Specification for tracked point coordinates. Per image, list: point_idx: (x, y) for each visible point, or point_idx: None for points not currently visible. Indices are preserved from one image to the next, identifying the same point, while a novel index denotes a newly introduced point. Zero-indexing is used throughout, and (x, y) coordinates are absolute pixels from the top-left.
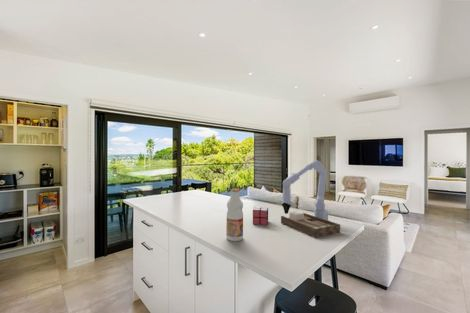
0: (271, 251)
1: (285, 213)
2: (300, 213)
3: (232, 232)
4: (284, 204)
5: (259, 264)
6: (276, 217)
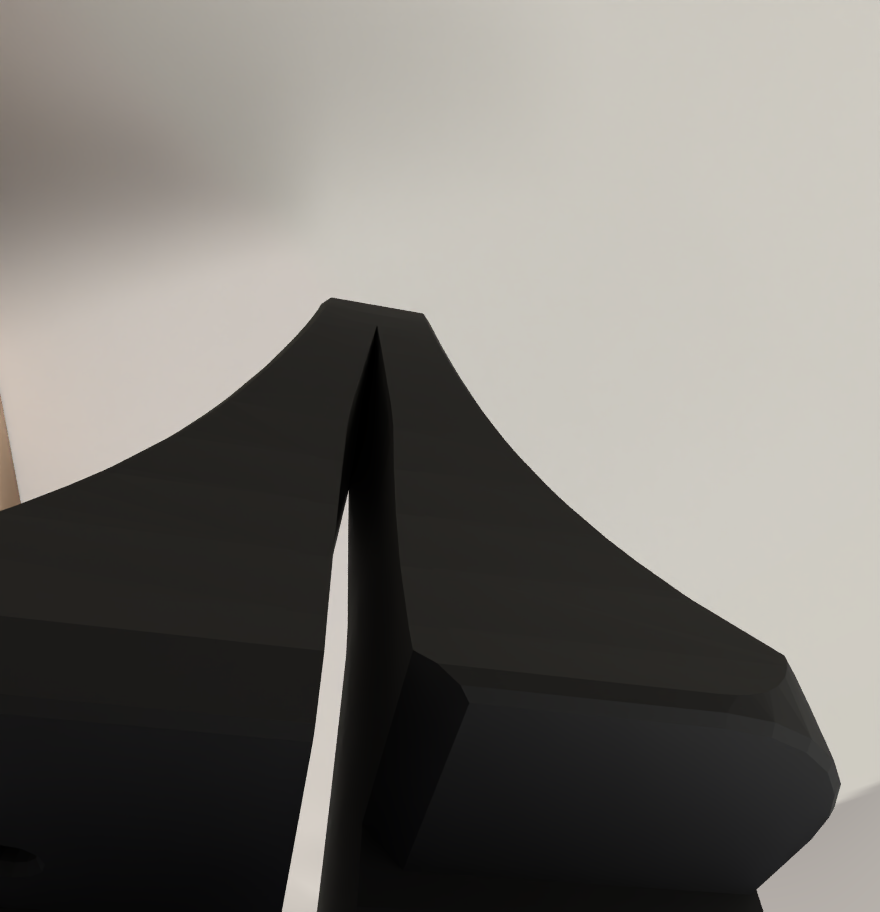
0: None
1: (362, 305)
2: None
3: None
4: (149, 750)
5: None
6: (816, 45)
